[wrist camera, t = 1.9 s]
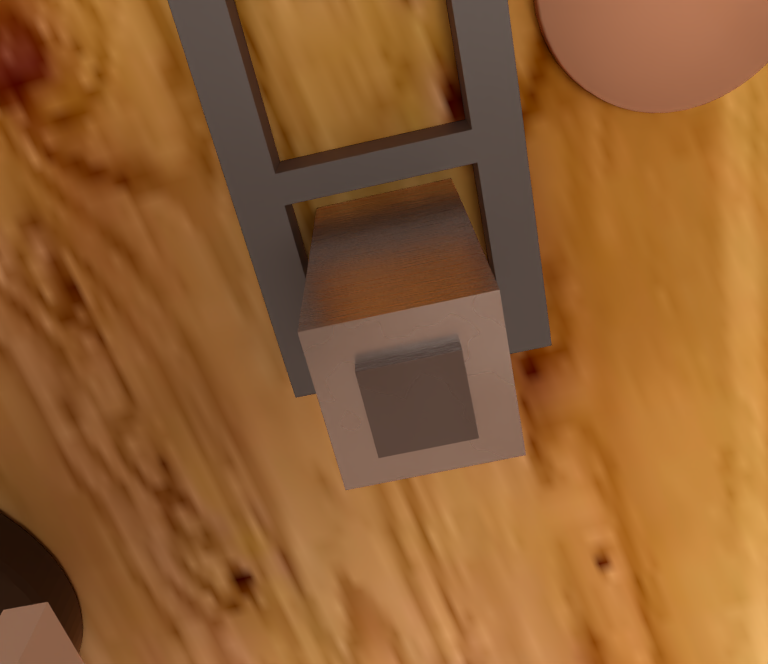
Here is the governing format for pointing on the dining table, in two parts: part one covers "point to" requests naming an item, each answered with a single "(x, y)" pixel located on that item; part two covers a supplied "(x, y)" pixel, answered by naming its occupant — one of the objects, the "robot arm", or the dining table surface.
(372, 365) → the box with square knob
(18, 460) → the dining table surface
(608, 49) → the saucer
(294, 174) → the grey double frame
